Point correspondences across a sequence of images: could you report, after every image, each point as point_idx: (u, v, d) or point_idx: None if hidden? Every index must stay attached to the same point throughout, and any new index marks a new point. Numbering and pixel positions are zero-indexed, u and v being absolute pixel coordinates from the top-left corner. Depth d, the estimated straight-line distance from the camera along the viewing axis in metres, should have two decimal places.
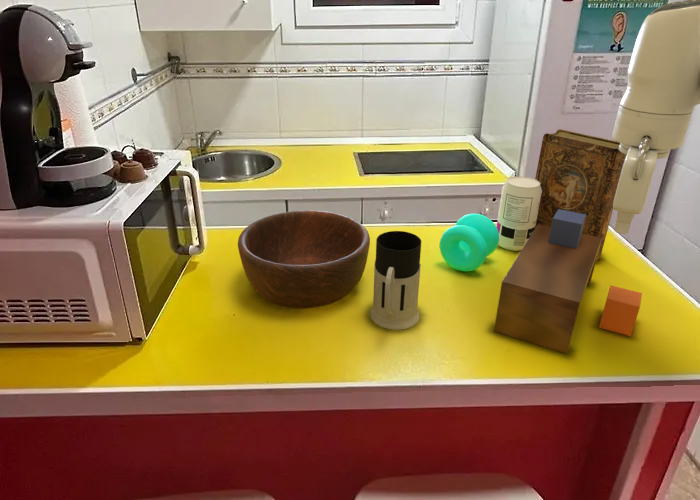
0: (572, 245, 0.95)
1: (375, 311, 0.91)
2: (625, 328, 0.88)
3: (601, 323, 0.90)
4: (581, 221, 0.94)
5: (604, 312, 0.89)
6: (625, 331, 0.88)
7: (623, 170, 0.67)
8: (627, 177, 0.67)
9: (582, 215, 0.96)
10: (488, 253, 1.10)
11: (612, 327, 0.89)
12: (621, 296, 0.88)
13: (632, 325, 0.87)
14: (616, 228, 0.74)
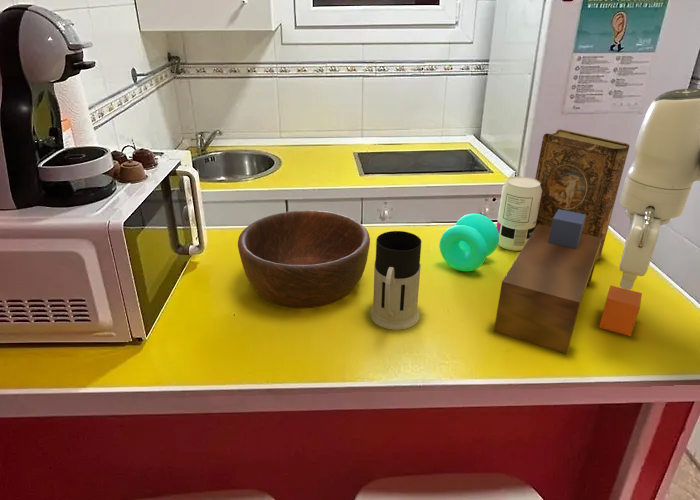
0: (572, 245, 0.95)
1: (375, 311, 0.91)
2: (625, 328, 0.88)
3: (601, 323, 0.90)
4: (581, 221, 0.94)
5: (604, 312, 0.89)
6: (625, 331, 0.88)
7: (629, 238, 0.75)
8: (633, 244, 0.75)
9: (582, 215, 0.96)
10: (488, 253, 1.10)
11: (612, 327, 0.89)
12: (621, 296, 0.88)
13: (632, 325, 0.87)
14: (621, 284, 0.82)
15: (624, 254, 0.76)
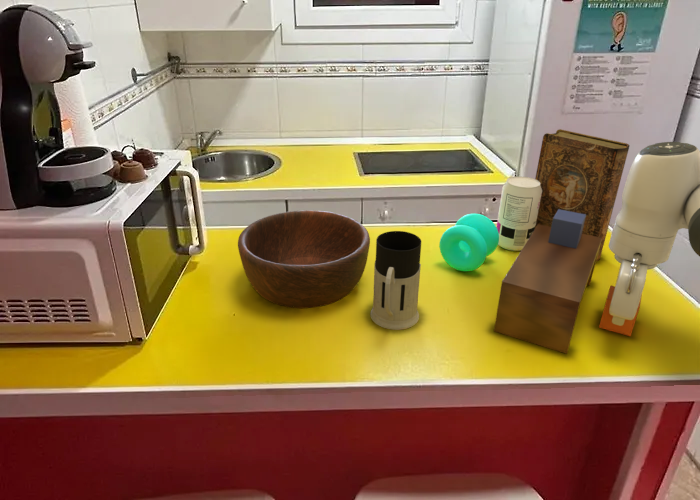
0: (572, 245, 0.95)
1: (375, 311, 0.91)
2: (625, 328, 0.88)
3: (601, 323, 0.90)
4: (581, 221, 0.94)
5: (604, 312, 0.89)
6: (625, 331, 0.88)
7: (618, 284, 0.79)
8: (621, 290, 0.79)
9: (582, 215, 0.96)
10: (488, 253, 1.10)
11: (612, 327, 0.89)
12: None
13: (632, 325, 0.87)
14: (613, 320, 0.87)
15: (613, 299, 0.80)
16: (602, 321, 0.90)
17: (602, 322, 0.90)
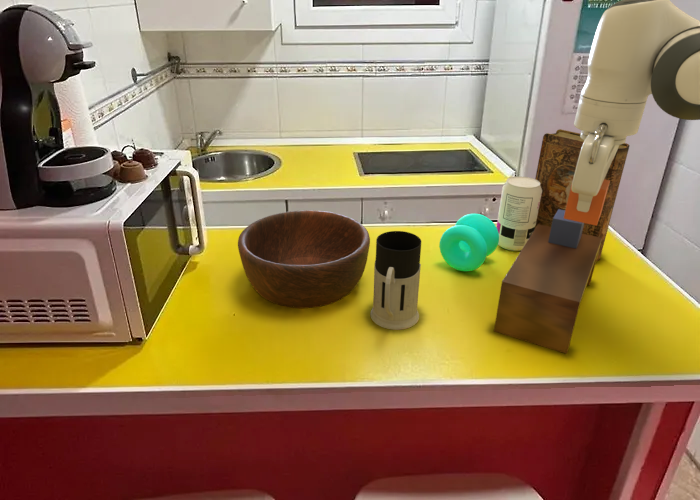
0: (572, 245, 0.95)
1: (375, 311, 0.91)
2: (591, 216, 0.81)
3: (566, 213, 0.83)
4: None
5: (569, 200, 0.82)
6: (591, 220, 0.82)
7: (580, 154, 0.72)
8: (583, 160, 0.72)
9: None
10: (488, 253, 1.10)
11: (577, 217, 0.82)
12: None
13: (598, 212, 0.81)
14: (578, 207, 0.80)
15: (575, 172, 0.73)
16: (567, 211, 0.83)
17: (567, 212, 0.83)
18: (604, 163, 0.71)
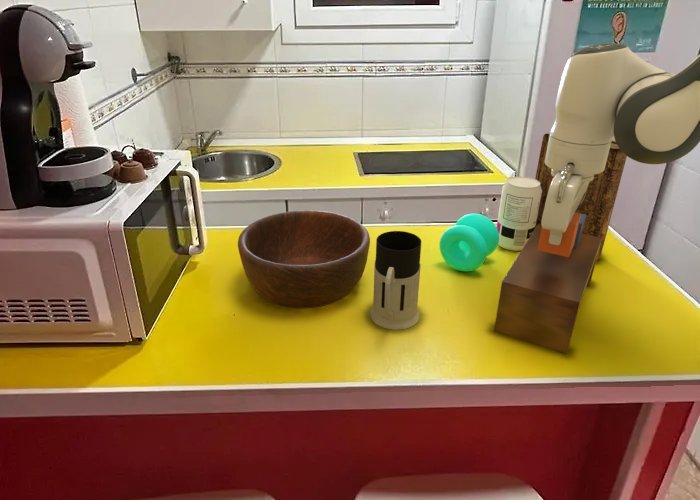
0: None
1: (375, 311, 0.91)
2: (563, 249, 0.85)
3: (539, 245, 0.87)
4: (581, 221, 0.94)
5: (541, 233, 0.86)
6: (563, 252, 0.85)
7: (548, 193, 0.76)
8: (551, 199, 0.76)
9: (582, 215, 0.96)
10: (488, 253, 1.10)
11: (550, 249, 0.86)
12: None
13: (569, 245, 0.84)
14: (550, 240, 0.84)
15: (544, 210, 0.77)
16: (540, 243, 0.86)
17: (540, 244, 0.87)
18: (570, 202, 0.75)
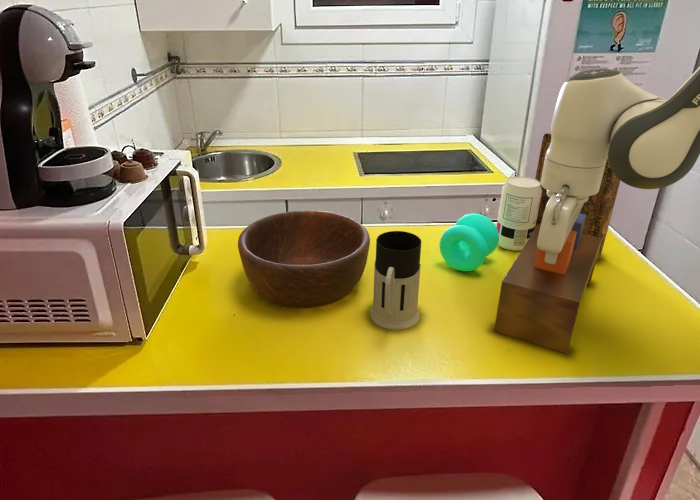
0: None
1: (375, 311, 0.91)
2: (559, 266, 0.86)
3: (536, 262, 0.88)
4: (581, 221, 0.94)
5: (538, 251, 0.87)
6: (559, 270, 0.87)
7: (543, 215, 0.77)
8: (547, 221, 0.77)
9: (582, 215, 0.96)
10: (488, 253, 1.10)
11: (546, 266, 0.88)
12: None
13: (565, 263, 0.86)
14: (546, 259, 0.86)
15: (540, 232, 0.78)
16: (537, 260, 0.88)
17: (537, 261, 0.88)
18: (565, 224, 0.76)
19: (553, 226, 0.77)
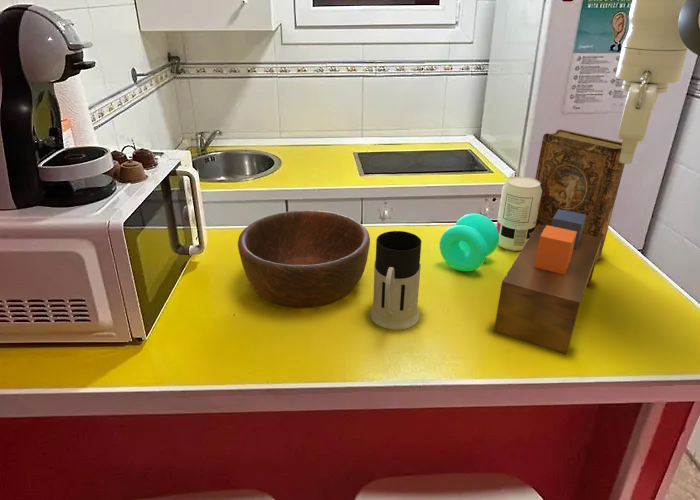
0: None
1: (375, 311, 0.91)
2: (559, 266, 0.86)
3: (536, 262, 0.88)
4: (581, 221, 0.94)
5: (538, 251, 0.87)
6: (559, 270, 0.87)
7: (627, 101, 0.75)
8: (630, 106, 0.75)
9: (582, 215, 0.96)
10: (488, 253, 1.10)
11: (546, 266, 0.88)
12: (555, 234, 0.86)
13: (565, 263, 0.86)
14: (621, 159, 0.82)
15: (622, 119, 0.76)
16: (537, 260, 0.88)
17: (537, 261, 0.88)
18: (651, 107, 0.74)
19: (637, 110, 0.75)
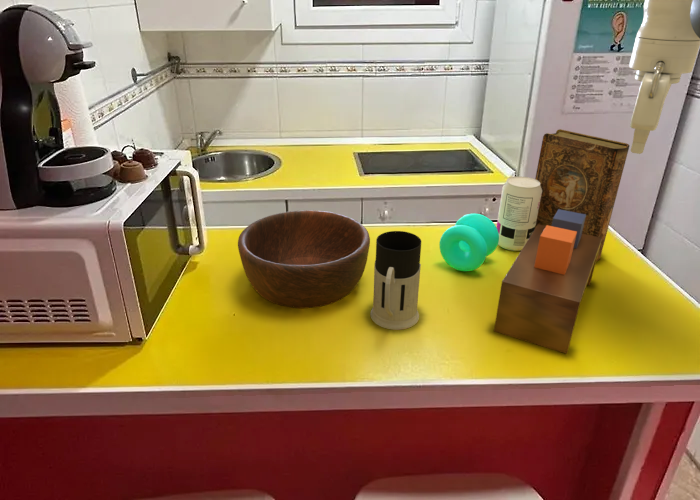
0: None
1: (375, 311, 0.91)
2: (559, 266, 0.86)
3: (536, 262, 0.88)
4: (581, 221, 0.94)
5: (538, 251, 0.87)
6: (559, 270, 0.87)
7: (640, 90, 0.76)
8: (643, 95, 0.76)
9: (582, 215, 0.96)
10: (488, 253, 1.10)
11: (546, 266, 0.88)
12: (555, 234, 0.86)
13: (565, 263, 0.86)
14: (632, 149, 0.83)
15: (635, 108, 0.77)
16: (537, 260, 0.88)
17: (537, 261, 0.88)
18: (664, 97, 0.75)
19: (650, 100, 0.75)
